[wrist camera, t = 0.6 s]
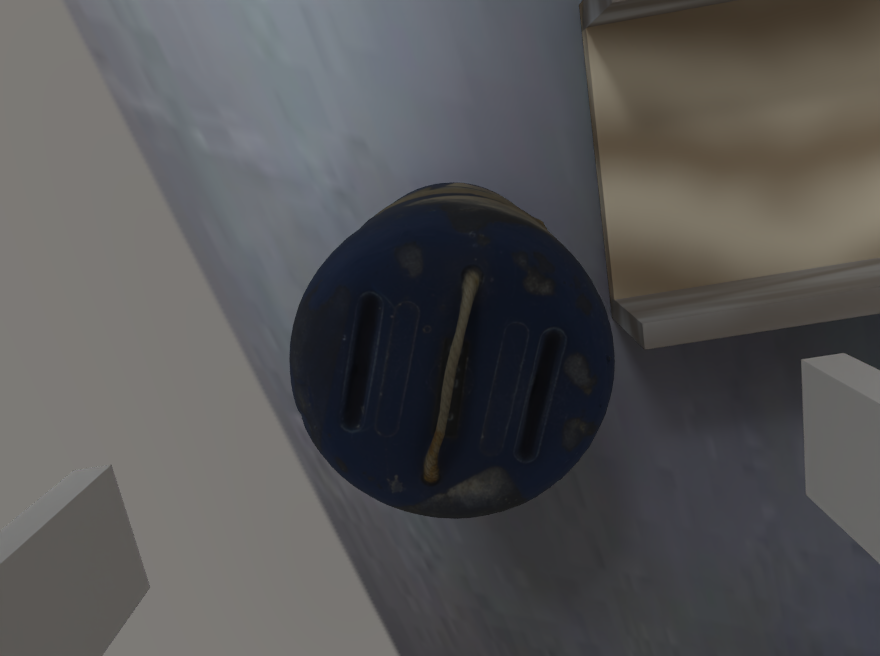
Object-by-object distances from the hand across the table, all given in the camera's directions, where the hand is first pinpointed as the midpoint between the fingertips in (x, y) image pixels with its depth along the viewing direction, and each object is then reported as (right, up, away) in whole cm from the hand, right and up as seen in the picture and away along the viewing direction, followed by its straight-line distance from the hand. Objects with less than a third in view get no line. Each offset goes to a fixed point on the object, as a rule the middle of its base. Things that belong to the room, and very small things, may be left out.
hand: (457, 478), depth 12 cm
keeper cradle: (+14, +12, +20) cm, 27 cm away
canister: (0, +6, +22) cm, 23 cm away
